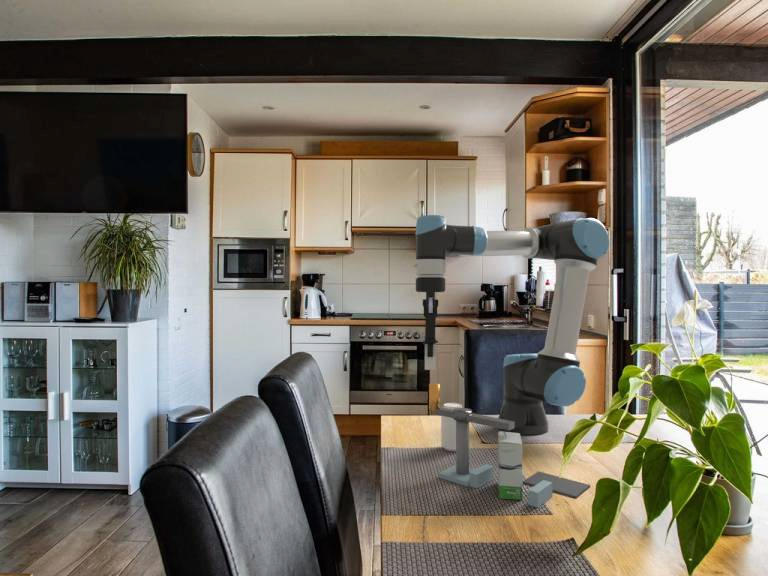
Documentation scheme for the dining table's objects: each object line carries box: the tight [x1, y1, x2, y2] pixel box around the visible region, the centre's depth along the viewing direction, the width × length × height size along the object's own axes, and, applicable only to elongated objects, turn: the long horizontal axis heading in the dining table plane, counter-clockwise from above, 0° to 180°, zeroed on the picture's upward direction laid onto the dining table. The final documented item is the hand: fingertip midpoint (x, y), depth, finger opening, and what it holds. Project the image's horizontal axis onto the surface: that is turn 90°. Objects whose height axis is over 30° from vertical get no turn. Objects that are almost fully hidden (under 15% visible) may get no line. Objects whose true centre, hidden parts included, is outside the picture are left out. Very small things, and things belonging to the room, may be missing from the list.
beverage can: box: [440, 402, 463, 452], centre depth 135 cm, size 6×6×12 cm
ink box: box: [497, 431, 523, 501], centre depth 107 cm, size 9×5×12 cm, turn 168°
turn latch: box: [428, 382, 515, 430], centre depth 114 cm, size 4×22×7 cm, turn 48°
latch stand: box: [437, 421, 554, 508], centre depth 110 cm, size 8×24×13 cm, turn 48°
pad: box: [522, 471, 591, 499], centre depth 110 cm, size 8×12×1 cm, turn 48°
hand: (429, 369), depth 126 cm, fingers closed
